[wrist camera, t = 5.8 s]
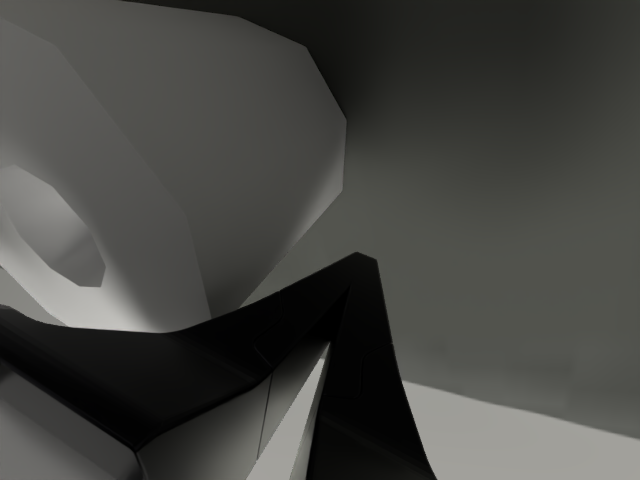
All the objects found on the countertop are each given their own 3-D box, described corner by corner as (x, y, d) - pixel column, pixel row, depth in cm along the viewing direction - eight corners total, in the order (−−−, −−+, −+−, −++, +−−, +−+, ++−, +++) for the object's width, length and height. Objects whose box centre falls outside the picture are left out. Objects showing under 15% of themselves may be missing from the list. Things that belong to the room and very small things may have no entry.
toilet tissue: (205, 267, 20) (72, 378, 13) (147, 17, 13) (-202, -16, 6) (335, 307, 17) (249, 473, 11) (353, 15, 10) (122, -49, 3)
